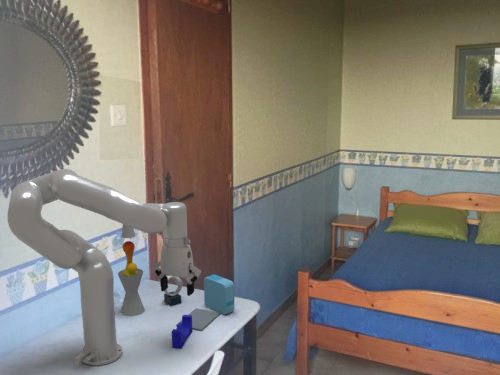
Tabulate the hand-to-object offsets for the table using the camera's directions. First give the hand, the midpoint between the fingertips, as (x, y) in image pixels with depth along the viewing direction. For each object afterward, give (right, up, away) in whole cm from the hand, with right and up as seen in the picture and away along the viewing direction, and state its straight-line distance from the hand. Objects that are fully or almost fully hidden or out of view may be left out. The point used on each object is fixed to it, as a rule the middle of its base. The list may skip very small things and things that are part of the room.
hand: (177, 292), depth 163 cm
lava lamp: (-20, -12, +24) cm, 34 cm away
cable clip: (+1, -17, +3) cm, 17 cm away
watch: (-6, -11, +31) cm, 34 cm away
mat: (+5, -13, +16) cm, 22 cm away
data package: (+12, -12, +25) cm, 30 cm away
